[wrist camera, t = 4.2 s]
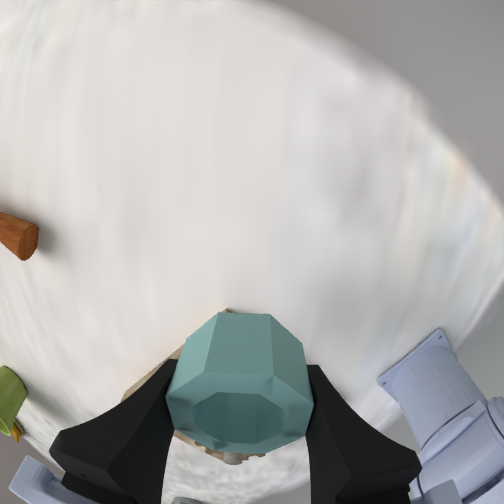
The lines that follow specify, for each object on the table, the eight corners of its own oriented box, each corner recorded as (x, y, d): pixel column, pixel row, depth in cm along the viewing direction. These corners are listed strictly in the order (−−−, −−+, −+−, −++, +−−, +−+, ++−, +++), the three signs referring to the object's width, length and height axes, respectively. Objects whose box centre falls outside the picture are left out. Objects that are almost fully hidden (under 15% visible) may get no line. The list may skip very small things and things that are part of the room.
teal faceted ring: (321, 360, 13) (336, 419, 9) (243, 407, 14) (239, 462, 11) (244, 290, 12) (238, 346, 8) (167, 353, 13) (144, 409, 9)
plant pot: (-7, 368, 26) (-32, 397, 18) (-3, 346, 24) (-35, 378, 16) (30, 407, 28) (9, 440, 20) (40, 392, 26) (13, 430, 18)
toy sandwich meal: (0, 417, 34) (-7, 429, 30) (-22, 381, 30) (-32, 393, 25) (33, 440, 34) (25, 453, 30) (10, 405, 30) (-1, 420, 26)
